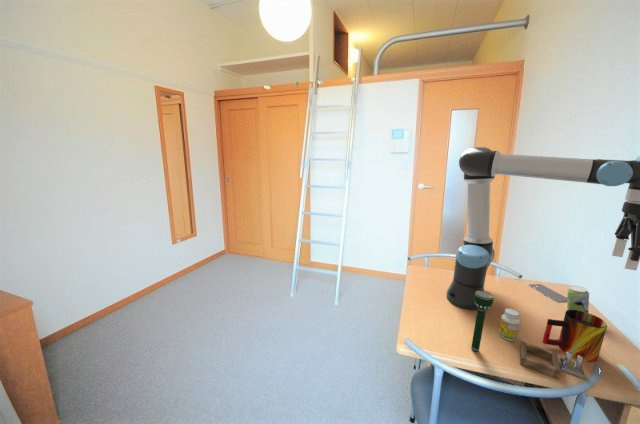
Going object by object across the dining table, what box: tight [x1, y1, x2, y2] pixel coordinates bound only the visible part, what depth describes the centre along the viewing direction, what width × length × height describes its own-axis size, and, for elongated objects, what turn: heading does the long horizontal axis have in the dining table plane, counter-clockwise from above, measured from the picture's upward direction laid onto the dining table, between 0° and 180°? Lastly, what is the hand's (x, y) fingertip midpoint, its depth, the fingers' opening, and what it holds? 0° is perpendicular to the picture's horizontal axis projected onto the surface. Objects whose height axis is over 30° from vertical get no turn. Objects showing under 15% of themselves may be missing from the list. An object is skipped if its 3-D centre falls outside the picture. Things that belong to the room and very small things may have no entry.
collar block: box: [519, 340, 562, 379], centre depth 84 cm, size 9×9×2 cm
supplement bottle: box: [498, 308, 521, 342], centre depth 95 cm, size 5×5×10 cm
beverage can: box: [566, 285, 590, 313], centre depth 107 cm, size 6×7×12 cm
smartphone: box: [527, 283, 568, 303], centre depth 126 cm, size 7×1×15 cm
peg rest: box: [558, 351, 585, 379], centre depth 81 cm, size 5×5×5 cm
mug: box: [542, 309, 608, 363], centre depth 88 cm, size 10×14×12 cm
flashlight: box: [470, 290, 494, 353], centre depth 87 cm, size 5×5×20 cm
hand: (622, 262), depth 96 cm, fingers open, 13 cm apart
